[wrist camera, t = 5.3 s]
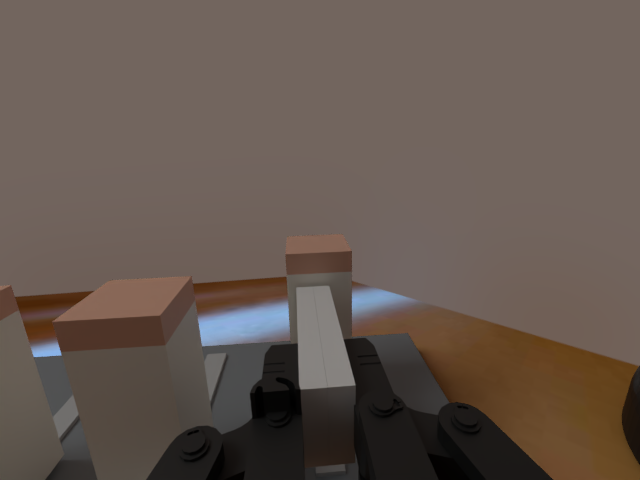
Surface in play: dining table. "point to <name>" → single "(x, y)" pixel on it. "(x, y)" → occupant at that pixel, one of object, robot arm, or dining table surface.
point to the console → (238, 397)
